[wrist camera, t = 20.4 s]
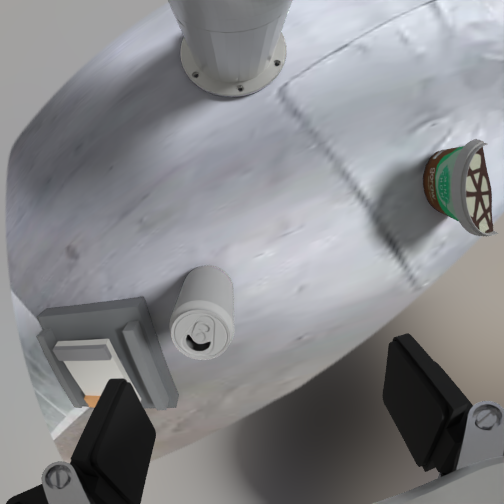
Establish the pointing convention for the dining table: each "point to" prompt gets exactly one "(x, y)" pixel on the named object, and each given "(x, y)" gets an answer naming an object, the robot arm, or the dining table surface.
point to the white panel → (91, 365)
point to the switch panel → (123, 341)
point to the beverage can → (204, 314)
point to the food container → (461, 187)
